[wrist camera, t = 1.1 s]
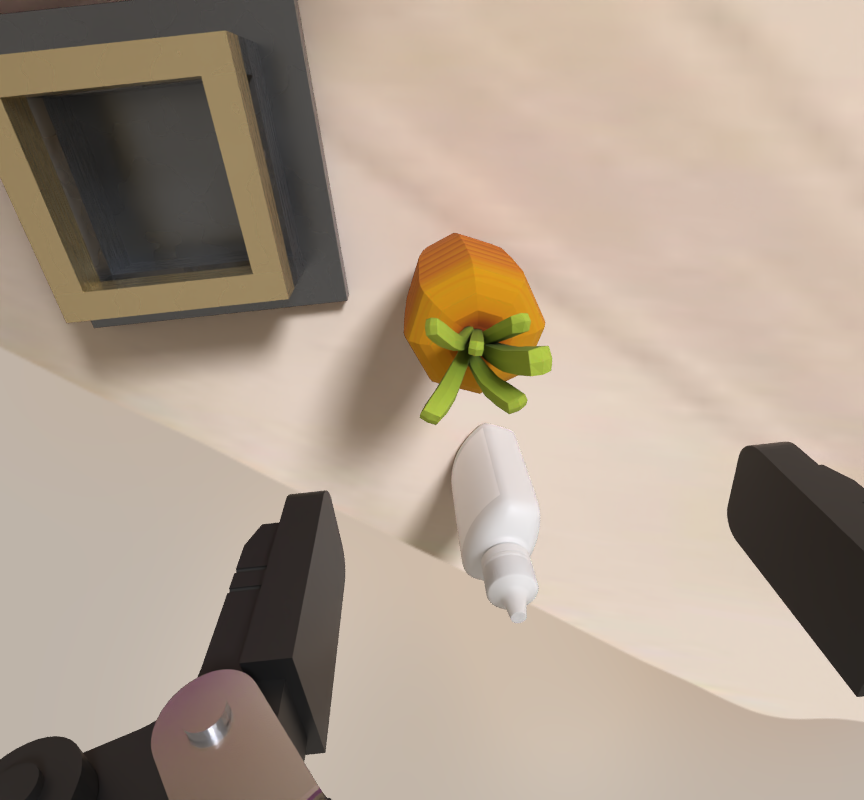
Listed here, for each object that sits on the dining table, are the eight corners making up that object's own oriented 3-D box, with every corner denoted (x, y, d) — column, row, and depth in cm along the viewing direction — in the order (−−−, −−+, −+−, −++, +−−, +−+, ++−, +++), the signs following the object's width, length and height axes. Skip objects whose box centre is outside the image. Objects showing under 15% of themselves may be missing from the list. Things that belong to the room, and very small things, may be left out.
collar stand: (-22, 21, 22) (-140, -1, 17) (295, -13, 22) (266, -44, 17) (103, 321, 28) (43, 366, 23) (348, 294, 28) (338, 334, 24)
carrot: (407, 305, 29) (414, 477, 16) (396, 209, 26) (393, 317, 13) (499, 296, 29) (583, 460, 16) (497, 199, 26) (593, 297, 13)
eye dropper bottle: (425, 462, 34) (437, 624, 23) (496, 410, 32) (542, 559, 22) (468, 501, 36) (497, 668, 25) (537, 454, 34) (599, 611, 24)
